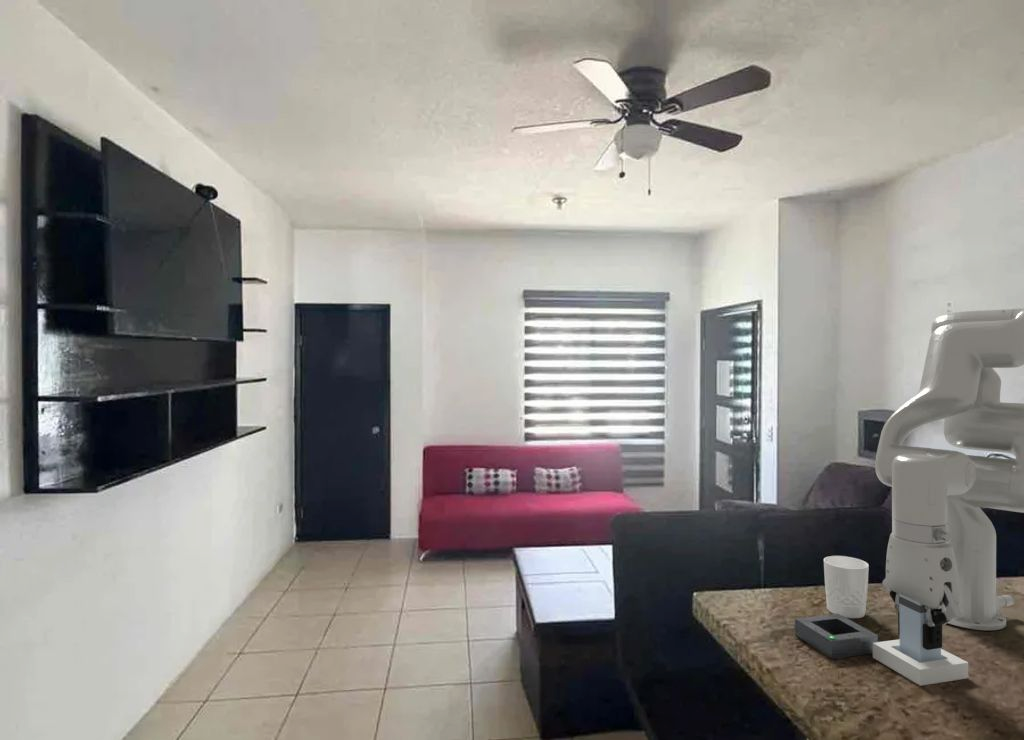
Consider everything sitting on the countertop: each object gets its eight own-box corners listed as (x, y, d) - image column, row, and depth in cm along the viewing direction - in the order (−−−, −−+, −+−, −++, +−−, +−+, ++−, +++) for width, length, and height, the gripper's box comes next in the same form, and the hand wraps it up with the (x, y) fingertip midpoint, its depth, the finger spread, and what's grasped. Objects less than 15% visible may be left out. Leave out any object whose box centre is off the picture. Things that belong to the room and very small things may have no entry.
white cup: (866, 607, 124) (866, 558, 124) (870, 622, 117) (870, 571, 117) (822, 601, 127) (822, 553, 127) (824, 616, 120) (824, 565, 120)
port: (837, 629, 114) (837, 612, 114) (877, 652, 105) (877, 633, 105) (795, 634, 112) (795, 617, 112) (831, 658, 103) (831, 640, 103)
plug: (919, 649, 103) (919, 590, 102) (941, 661, 99) (941, 600, 98) (899, 652, 102) (898, 593, 101) (920, 665, 98) (920, 603, 97)
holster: (917, 651, 105) (917, 636, 105) (968, 678, 96) (968, 662, 96) (872, 657, 103) (872, 642, 103) (920, 685, 94) (920, 669, 94)
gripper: (987, 544, 92) (988, 663, 93) (895, 515, 109) (896, 617, 109) (947, 549, 91) (947, 670, 91) (859, 519, 107) (860, 622, 107)
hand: (919, 640), depth 100 cm, fingers closed on plug, 4 cm apart
